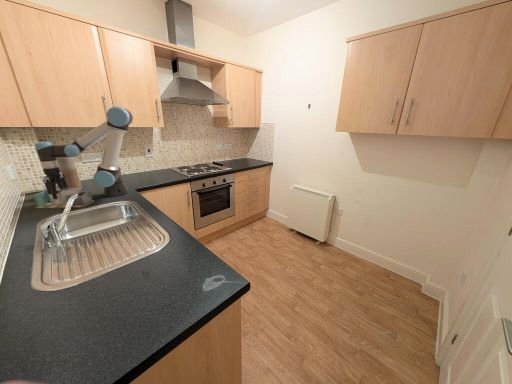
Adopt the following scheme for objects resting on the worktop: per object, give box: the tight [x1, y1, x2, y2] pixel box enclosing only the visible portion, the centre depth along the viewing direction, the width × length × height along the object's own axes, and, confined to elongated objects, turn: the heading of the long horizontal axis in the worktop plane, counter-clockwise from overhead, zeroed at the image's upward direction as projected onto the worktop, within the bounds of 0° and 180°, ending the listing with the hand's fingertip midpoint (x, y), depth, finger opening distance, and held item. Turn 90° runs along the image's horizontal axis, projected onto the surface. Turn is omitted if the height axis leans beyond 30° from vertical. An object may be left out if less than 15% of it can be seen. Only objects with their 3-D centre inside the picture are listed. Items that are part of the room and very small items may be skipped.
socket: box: [32, 190, 51, 207], centre depth 132 cm, size 5×8×8 cm, turn 4°
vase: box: [56, 157, 83, 188], centre depth 163 cm, size 10×10×28 cm
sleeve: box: [65, 191, 94, 206], centre depth 134 cm, size 10×8×7 cm
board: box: [34, 200, 95, 209], centre depth 134 cm, size 30×10×1 cm, turn 94°
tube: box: [49, 187, 84, 205], centre depth 133 cm, size 18×5×10 cm, turn 94°
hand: (62, 201), depth 134 cm, fingers closed on tube, 5 cm apart
